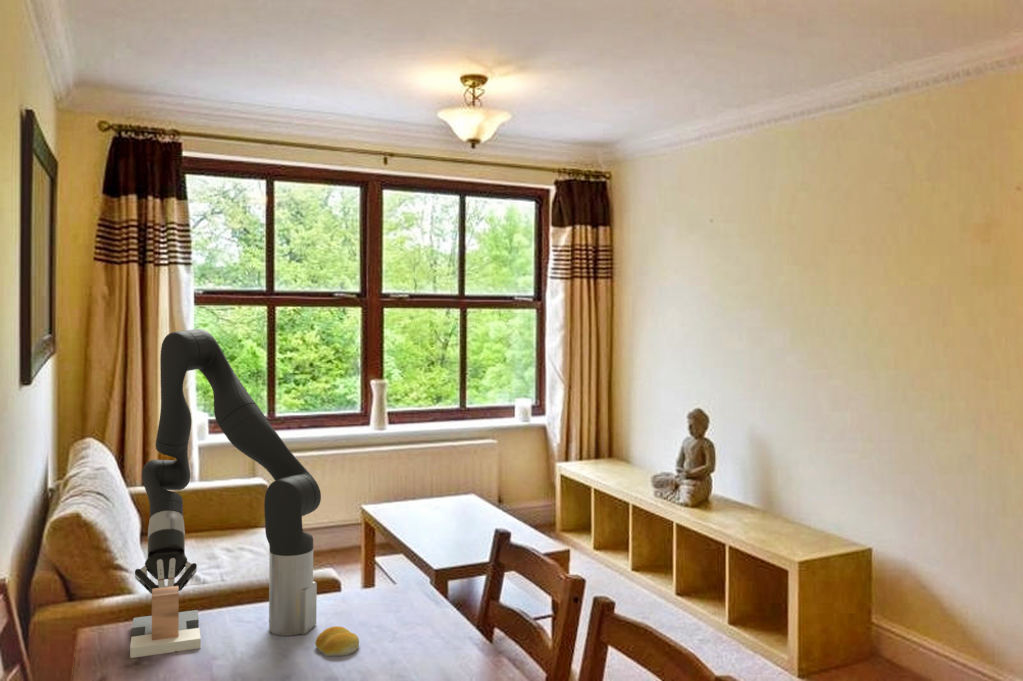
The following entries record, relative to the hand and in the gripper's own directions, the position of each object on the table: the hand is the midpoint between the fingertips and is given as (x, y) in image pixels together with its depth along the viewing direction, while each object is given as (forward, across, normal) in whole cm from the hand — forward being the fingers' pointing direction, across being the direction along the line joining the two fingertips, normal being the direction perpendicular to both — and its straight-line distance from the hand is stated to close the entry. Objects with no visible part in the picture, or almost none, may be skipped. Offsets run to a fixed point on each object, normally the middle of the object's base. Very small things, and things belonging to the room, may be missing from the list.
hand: (166, 609), depth 168 cm
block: (+5, 0, +1) cm, 5 cm away
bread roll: (+17, +32, -8) cm, 38 cm away
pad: (+8, 0, +1) cm, 8 cm away
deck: (+2, 0, +7) cm, 7 cm away
